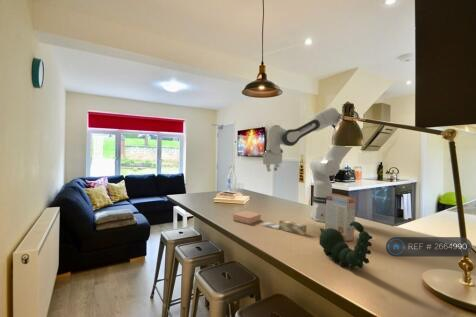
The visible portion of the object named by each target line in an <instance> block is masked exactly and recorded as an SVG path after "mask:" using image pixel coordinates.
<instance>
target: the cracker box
mask: <svg viewBox="0 0 476 317" xmlns="http://www.w3.org/2000/svg"><path fill="white" fill-rule="evenodd" d="M356 201H357V199H356V197H351V196H348V195H343V194H339V193H333V192H332V194H327V201H326V221H325V222H324V223H325V224H324V226H325V227H324V230H325V229H328V228H333V229H336V230H338V231H339V232H340V233H341V234H342V236H343V238H344V242H352V241H354V238H355V227H354V226H350V223H351V222H354V221H355V222H356V206H357V205H356Z"/></svg>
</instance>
